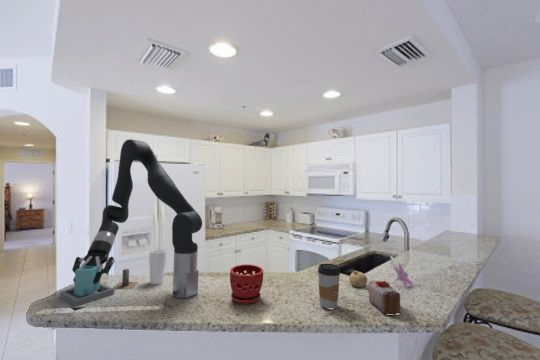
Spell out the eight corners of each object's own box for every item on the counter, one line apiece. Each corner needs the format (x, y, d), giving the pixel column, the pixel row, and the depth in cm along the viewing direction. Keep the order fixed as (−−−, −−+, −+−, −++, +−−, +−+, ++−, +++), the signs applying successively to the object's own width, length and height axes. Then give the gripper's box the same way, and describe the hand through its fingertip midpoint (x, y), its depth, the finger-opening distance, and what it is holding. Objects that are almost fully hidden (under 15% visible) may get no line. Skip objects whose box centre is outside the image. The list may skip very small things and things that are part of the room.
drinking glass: (158, 289, 112) (160, 253, 113) (144, 287, 114) (146, 252, 114) (167, 283, 119) (169, 250, 120) (154, 282, 120) (155, 249, 121)
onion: (352, 281, 128) (352, 266, 128) (369, 285, 123) (369, 270, 123) (346, 286, 121) (346, 270, 121) (364, 290, 117) (364, 274, 117)
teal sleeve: (99, 288, 104) (100, 265, 104) (89, 296, 96) (90, 271, 97) (83, 288, 103) (84, 265, 103) (71, 296, 96) (72, 271, 96)
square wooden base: (138, 285, 116) (139, 266, 116) (131, 292, 108) (132, 272, 108) (119, 285, 115) (119, 267, 115) (110, 293, 107) (111, 273, 107)
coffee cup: (326, 313, 94) (327, 270, 95) (312, 303, 101) (313, 264, 102) (344, 308, 98) (345, 267, 98) (329, 300, 105) (330, 262, 106)
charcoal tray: (113, 298, 102) (114, 288, 102) (75, 310, 91) (75, 300, 91) (97, 290, 109) (97, 282, 109) (59, 301, 98) (59, 291, 98)
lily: (392, 292, 117) (404, 276, 115) (378, 274, 128) (389, 259, 126) (412, 298, 121) (424, 282, 118) (397, 280, 132) (408, 265, 129)
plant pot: (222, 299, 104) (223, 268, 104) (247, 290, 113) (248, 262, 114) (244, 310, 95) (245, 276, 95) (269, 299, 104) (270, 269, 105)
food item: (365, 300, 106) (365, 275, 107) (384, 299, 107) (384, 275, 107) (383, 316, 93) (383, 288, 93) (404, 316, 93) (404, 287, 94)
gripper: (80, 239, 107) (59, 278, 95) (118, 239, 109) (102, 278, 97) (86, 249, 112) (68, 288, 100) (122, 249, 114) (108, 287, 102)
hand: (85, 283), depth 99 cm, fingers closed on teal sleeve, 6 cm apart
